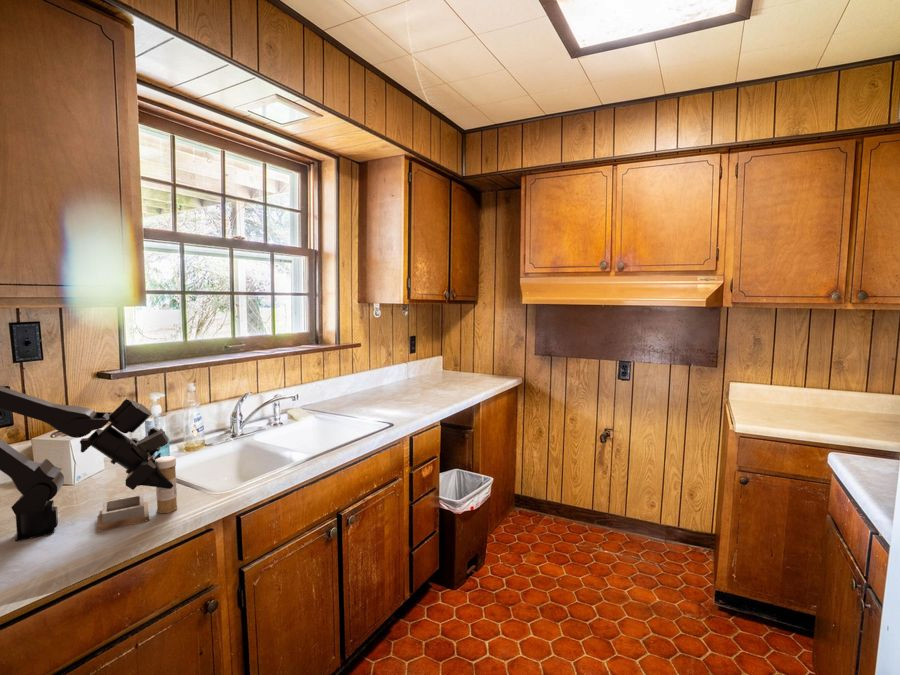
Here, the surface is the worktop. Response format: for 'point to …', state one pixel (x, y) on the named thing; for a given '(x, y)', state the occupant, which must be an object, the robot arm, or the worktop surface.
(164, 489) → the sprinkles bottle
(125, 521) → the baseplate
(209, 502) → the worktop surface
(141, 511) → the collar
